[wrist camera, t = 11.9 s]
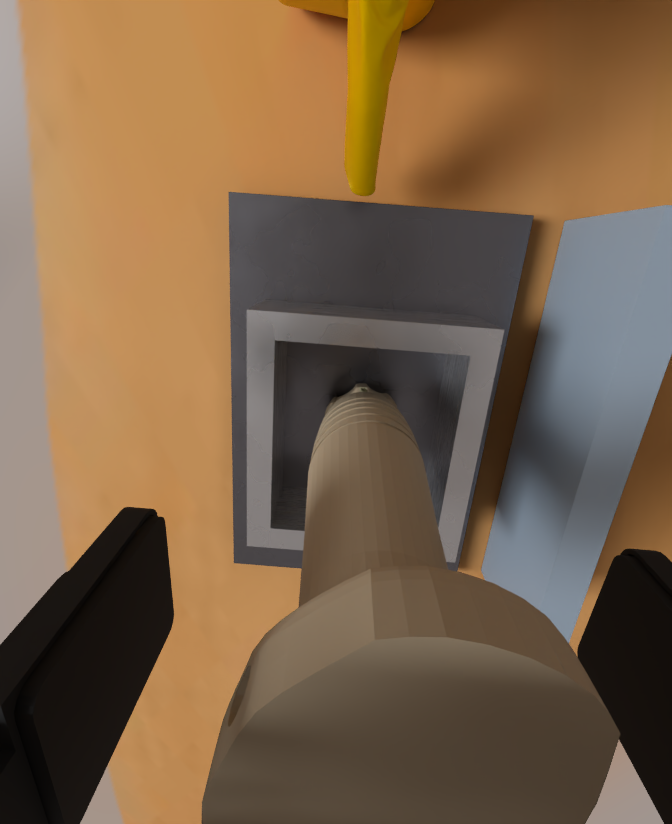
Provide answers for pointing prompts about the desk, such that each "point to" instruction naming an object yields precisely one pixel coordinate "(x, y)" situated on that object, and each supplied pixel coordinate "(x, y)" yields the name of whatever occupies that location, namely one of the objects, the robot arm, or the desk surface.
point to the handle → (402, 668)
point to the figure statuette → (368, 73)
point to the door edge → (583, 407)
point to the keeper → (362, 346)
